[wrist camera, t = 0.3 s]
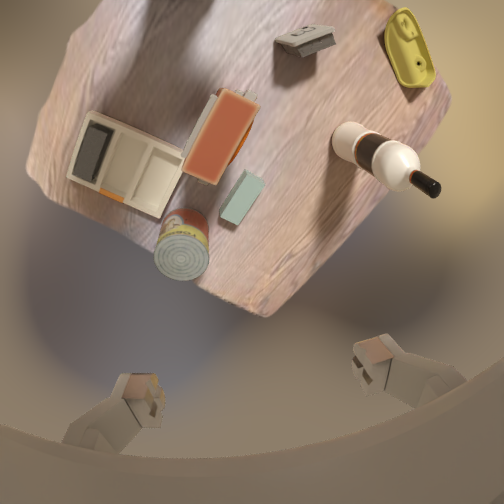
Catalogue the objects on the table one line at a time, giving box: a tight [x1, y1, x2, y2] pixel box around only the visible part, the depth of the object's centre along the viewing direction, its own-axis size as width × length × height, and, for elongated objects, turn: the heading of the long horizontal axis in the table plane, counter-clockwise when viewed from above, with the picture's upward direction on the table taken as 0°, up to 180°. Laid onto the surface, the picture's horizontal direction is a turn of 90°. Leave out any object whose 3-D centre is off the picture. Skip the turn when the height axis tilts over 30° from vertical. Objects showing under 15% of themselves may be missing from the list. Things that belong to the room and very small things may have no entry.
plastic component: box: [384, 8, 436, 88], centre depth 41 cm, size 20×7×10 cm
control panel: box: [181, 88, 260, 186], centre depth 41 cm, size 21×7×15 cm
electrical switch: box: [275, 24, 336, 58], centre depth 39 cm, size 9×5×9 cm, turn 120°
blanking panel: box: [220, 169, 265, 225], centre depth 59 cm, size 11×4×4 cm, turn 147°
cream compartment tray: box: [66, 110, 185, 219], centre depth 51 cm, size 16×24×3 cm, turn 58°
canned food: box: [154, 208, 209, 281], centre depth 58 cm, size 11×11×12 cm
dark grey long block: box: [74, 123, 114, 182], centre depth 47 cm, size 11×4×4 cm, turn 148°
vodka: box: [332, 121, 441, 198], centre depth 44 cm, size 9×9×30 cm
